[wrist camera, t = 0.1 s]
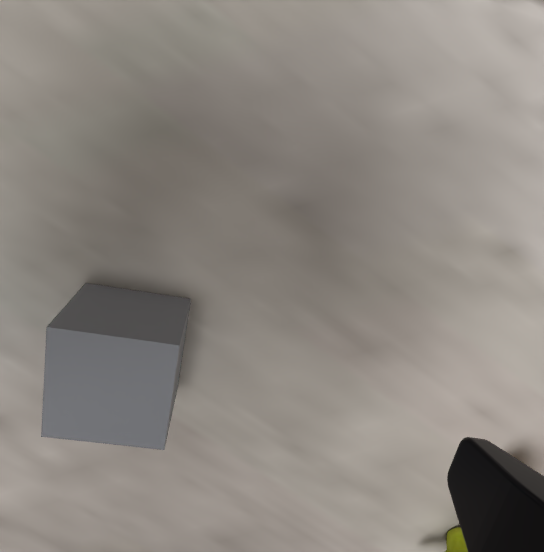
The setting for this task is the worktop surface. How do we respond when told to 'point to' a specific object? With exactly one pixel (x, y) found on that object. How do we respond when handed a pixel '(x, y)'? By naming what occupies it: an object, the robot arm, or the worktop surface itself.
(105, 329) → the charcoal block
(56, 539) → the worktop surface
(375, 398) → the worktop surface
